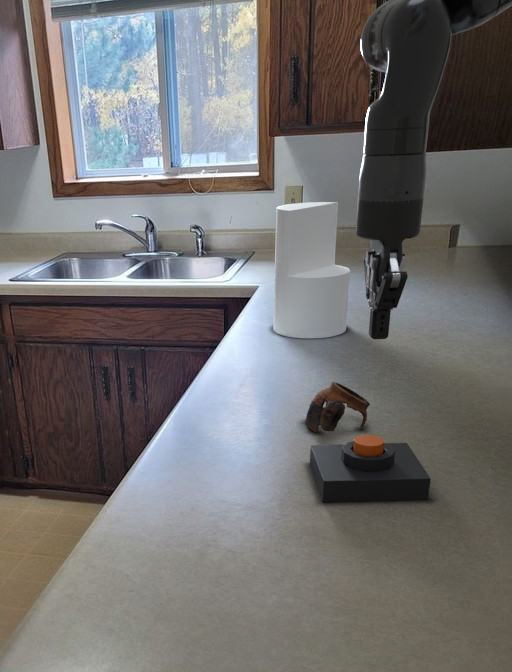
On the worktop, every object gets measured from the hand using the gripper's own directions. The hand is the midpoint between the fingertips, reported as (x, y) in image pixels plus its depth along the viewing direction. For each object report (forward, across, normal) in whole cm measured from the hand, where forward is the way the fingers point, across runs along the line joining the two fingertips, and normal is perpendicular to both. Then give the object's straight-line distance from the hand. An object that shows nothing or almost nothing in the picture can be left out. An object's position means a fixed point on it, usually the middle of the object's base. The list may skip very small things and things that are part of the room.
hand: (378, 337), depth 95 cm
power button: (+16, 0, 0) cm, 16 cm away
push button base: (+21, 0, 0) cm, 21 cm away
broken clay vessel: (+21, +20, +1) cm, 29 cm away
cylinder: (+21, +83, -4) cm, 86 cm away
